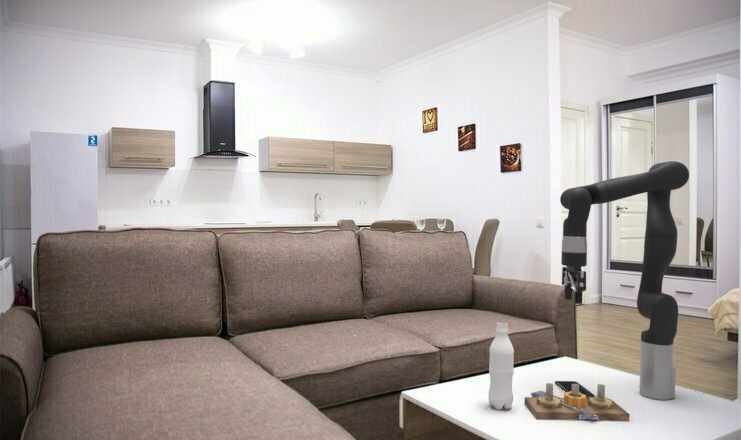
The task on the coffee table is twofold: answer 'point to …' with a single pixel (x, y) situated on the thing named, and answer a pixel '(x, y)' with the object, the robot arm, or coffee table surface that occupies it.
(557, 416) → the gear board
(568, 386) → the phone
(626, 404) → the coffee table surface
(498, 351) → the water bottle
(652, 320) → the robot arm
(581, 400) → the gear
